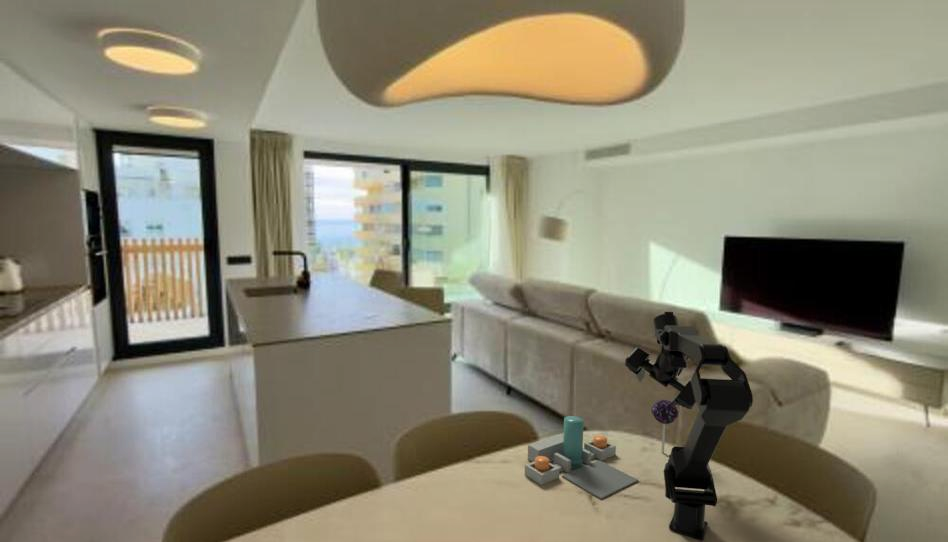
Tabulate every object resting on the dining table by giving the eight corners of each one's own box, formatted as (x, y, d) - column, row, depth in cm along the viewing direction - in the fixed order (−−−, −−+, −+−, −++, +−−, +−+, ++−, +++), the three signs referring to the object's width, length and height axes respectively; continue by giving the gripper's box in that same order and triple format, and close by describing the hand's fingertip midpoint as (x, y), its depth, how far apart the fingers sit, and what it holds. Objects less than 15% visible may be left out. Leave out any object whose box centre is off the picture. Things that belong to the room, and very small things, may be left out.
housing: (615, 454, 128) (616, 440, 128) (541, 485, 112) (541, 469, 111) (583, 439, 137) (583, 426, 137) (510, 465, 121) (510, 450, 121)
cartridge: (577, 471, 119) (579, 425, 118) (558, 465, 122) (560, 420, 121) (585, 463, 123) (587, 419, 122) (566, 457, 126) (568, 414, 125)
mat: (638, 481, 114) (638, 479, 114) (600, 499, 106) (601, 497, 106) (599, 461, 124) (599, 460, 124) (562, 476, 116) (562, 475, 116)
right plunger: (604, 452, 126) (604, 442, 126) (591, 449, 128) (591, 438, 128) (608, 448, 129) (608, 437, 129) (595, 444, 131) (596, 434, 131)
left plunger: (545, 476, 113) (545, 464, 113) (532, 471, 115) (532, 460, 115) (551, 470, 116) (552, 458, 116) (538, 466, 118) (538, 454, 118)
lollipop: (645, 452, 130) (647, 399, 129) (656, 445, 134) (659, 394, 133) (669, 461, 125) (672, 406, 124) (680, 453, 129) (683, 400, 128)
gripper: (723, 363, 111) (704, 394, 122) (653, 320, 121) (641, 353, 132) (699, 394, 106) (682, 423, 118) (628, 346, 116) (618, 378, 127)
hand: (655, 392), depth 124 cm, fingers open, 9 cm apart
